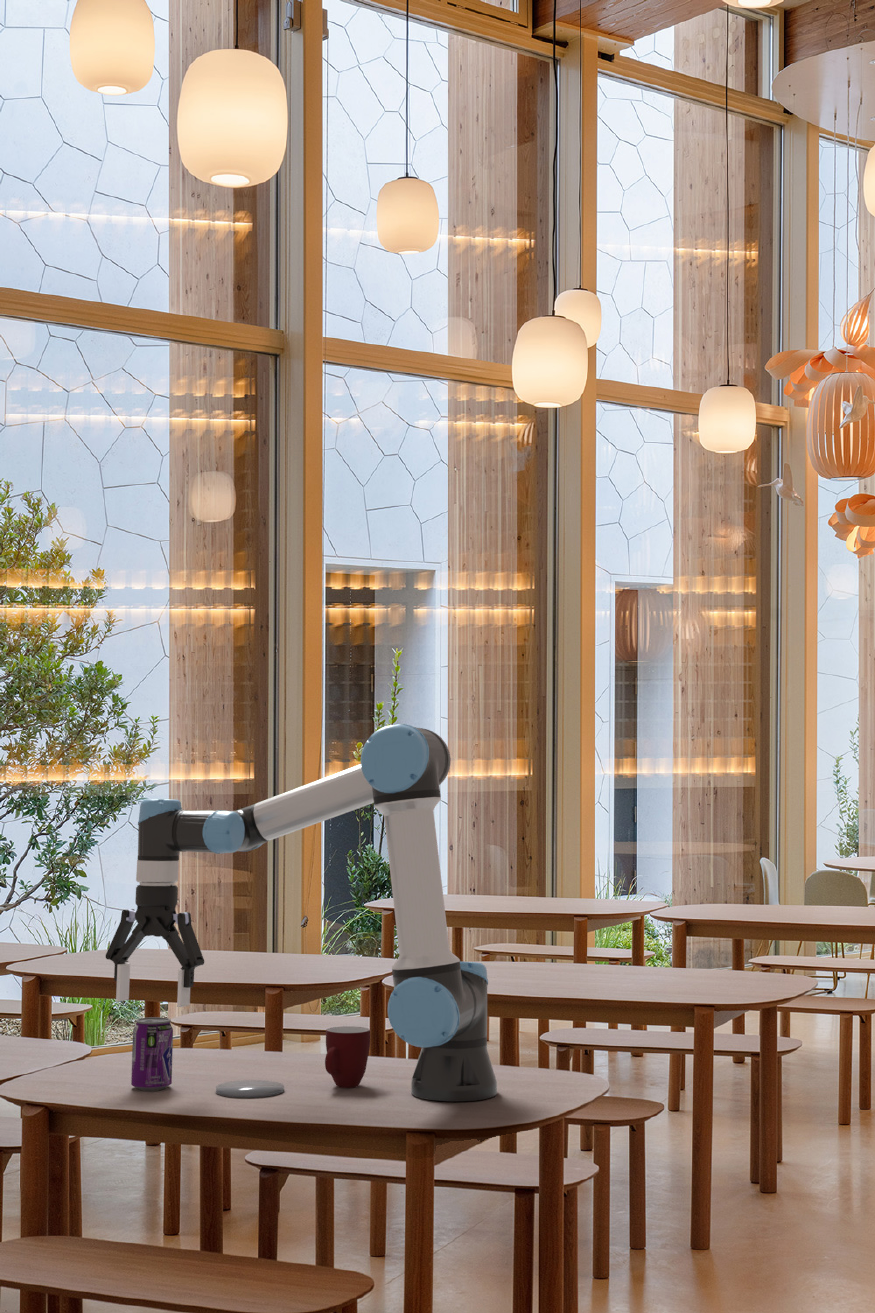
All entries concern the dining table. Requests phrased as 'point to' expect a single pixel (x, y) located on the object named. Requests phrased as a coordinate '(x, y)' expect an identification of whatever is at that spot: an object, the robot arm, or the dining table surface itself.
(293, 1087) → the dining table surface
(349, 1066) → the mug
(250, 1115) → the dining table surface
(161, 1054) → the beverage can
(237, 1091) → the coaster
